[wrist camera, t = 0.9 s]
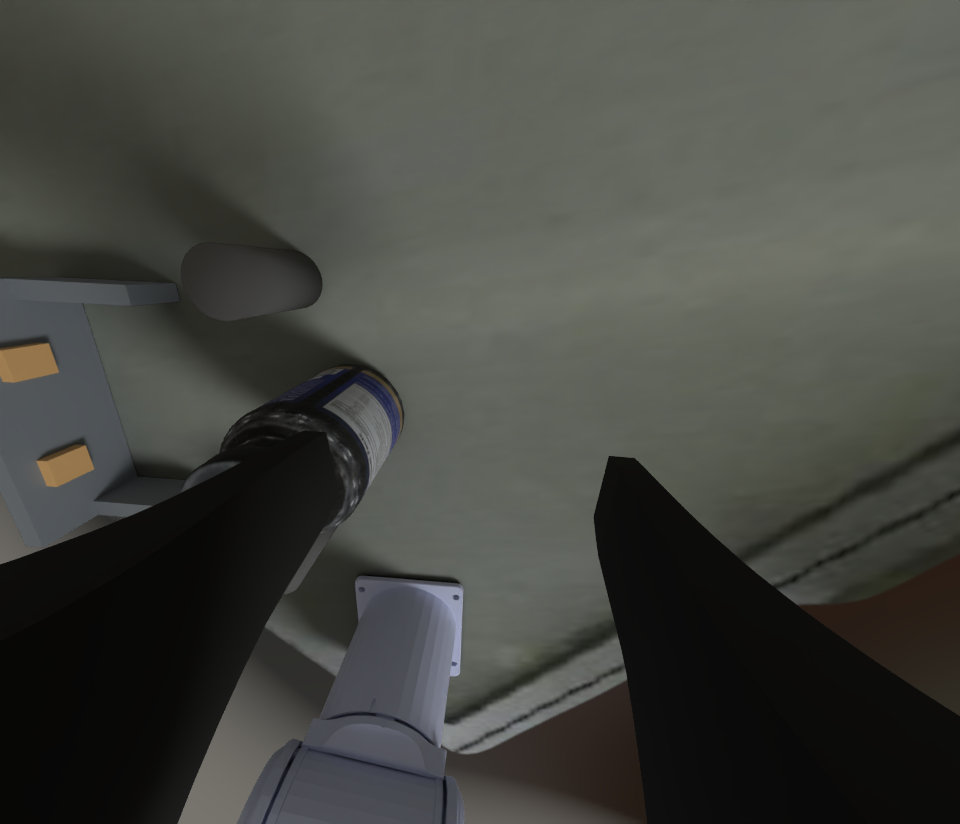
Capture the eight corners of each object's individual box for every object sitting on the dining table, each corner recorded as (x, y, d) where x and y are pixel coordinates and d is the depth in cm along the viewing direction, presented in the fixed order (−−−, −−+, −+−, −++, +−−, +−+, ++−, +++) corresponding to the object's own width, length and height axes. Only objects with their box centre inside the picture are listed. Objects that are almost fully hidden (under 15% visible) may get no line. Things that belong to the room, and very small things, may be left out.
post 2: (346, 527, 26) (303, 596, 21) (304, 524, 27) (251, 592, 21) (342, 491, 25) (297, 553, 20) (299, 488, 25) (241, 549, 20)
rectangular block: (224, 495, 26) (147, 556, 20) (127, 487, 26) (26, 546, 21) (175, 283, 21) (56, 287, 15) (57, 277, 21) (-102, 278, 16)
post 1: (324, 309, 21) (260, 323, 15) (273, 306, 21) (190, 319, 16) (319, 251, 20) (247, 244, 14) (264, 249, 20) (173, 240, 15)
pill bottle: (308, 444, 24) (165, 572, 14) (310, 353, 22) (140, 424, 12) (402, 461, 24) (327, 601, 14) (412, 372, 22) (333, 459, 12)
